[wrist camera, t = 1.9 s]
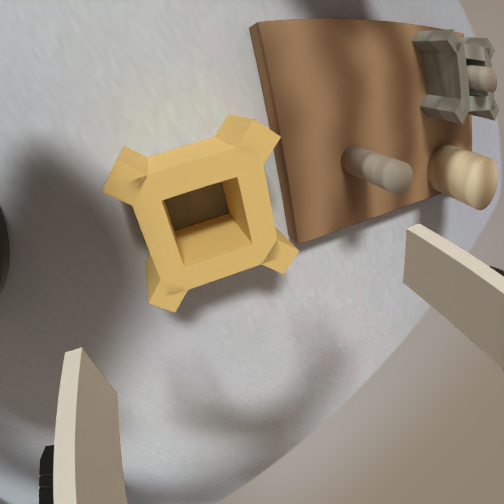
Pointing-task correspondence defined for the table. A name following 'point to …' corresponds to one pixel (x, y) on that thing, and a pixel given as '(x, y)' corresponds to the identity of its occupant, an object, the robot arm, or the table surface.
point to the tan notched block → (210, 231)
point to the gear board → (373, 117)
